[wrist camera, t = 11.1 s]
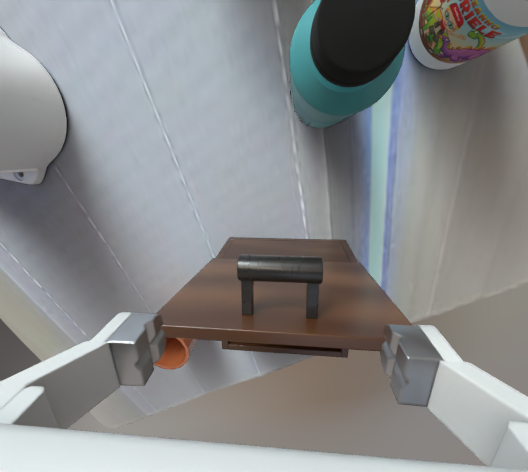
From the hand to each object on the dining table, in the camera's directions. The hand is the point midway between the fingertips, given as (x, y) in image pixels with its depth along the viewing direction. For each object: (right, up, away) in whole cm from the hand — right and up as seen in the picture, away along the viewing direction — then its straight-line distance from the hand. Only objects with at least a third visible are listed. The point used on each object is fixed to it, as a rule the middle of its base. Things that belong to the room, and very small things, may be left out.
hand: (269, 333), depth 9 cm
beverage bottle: (+6, +19, +19) cm, 28 cm away
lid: (+1, -1, +12) cm, 12 cm away
